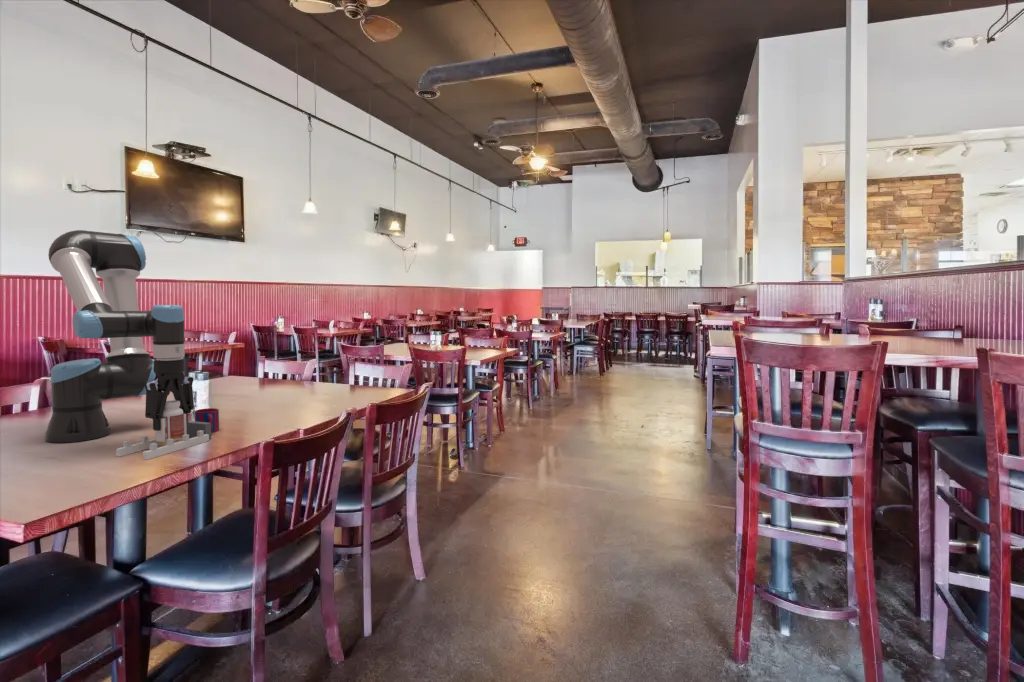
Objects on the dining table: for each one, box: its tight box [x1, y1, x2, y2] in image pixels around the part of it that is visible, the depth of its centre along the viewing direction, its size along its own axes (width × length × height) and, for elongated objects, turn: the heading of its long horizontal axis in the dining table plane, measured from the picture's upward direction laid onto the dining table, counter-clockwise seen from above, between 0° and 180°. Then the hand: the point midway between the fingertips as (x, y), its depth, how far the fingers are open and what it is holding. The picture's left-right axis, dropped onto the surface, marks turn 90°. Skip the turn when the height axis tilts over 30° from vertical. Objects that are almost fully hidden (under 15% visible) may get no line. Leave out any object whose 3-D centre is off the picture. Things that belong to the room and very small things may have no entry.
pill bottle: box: [162, 399, 184, 442], centre depth 149 cm, size 6×6×11 cm
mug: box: [194, 407, 220, 434], centre depth 166 cm, size 7×10×7 cm
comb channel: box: [115, 420, 212, 461], centre depth 148 cm, size 10×22×5 cm, turn 165°
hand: (171, 438), depth 149 cm, fingers closed on pill bottle, 6 cm apart
